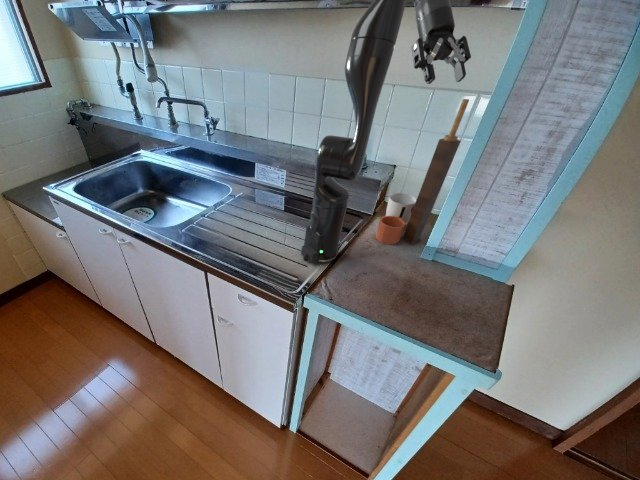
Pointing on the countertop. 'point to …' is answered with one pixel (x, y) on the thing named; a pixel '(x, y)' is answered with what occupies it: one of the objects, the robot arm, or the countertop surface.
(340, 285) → the countertop surface
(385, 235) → the terracotta pot
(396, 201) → the cup
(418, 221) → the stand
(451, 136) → the stick
